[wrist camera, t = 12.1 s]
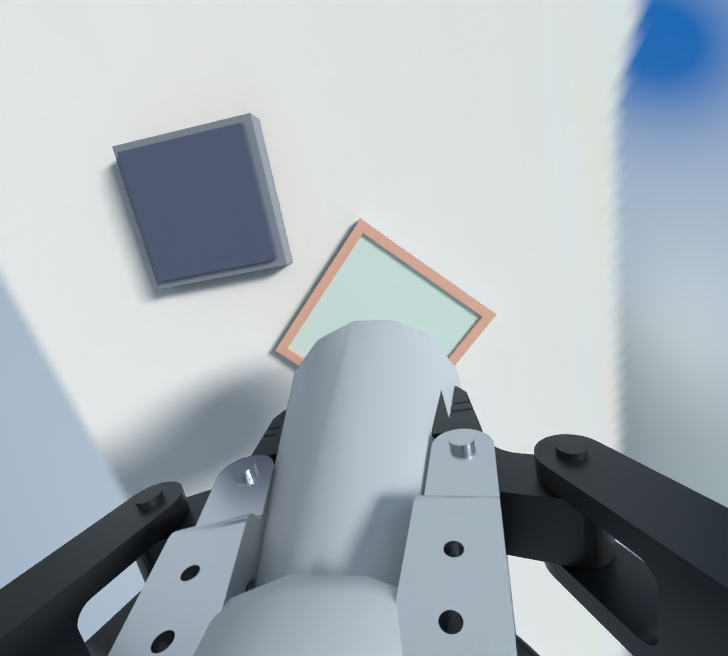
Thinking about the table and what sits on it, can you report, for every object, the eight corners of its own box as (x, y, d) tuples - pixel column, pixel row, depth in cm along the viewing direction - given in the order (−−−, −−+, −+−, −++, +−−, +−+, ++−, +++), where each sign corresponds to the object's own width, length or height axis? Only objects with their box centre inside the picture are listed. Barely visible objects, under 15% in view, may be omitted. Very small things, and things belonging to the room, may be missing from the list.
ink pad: (128, 150, 20) (106, 145, 18) (258, 119, 19) (247, 110, 17) (171, 285, 22) (154, 290, 20) (292, 262, 21) (284, 265, 19)
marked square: (277, 347, 22) (274, 350, 22) (361, 218, 20) (360, 218, 19) (400, 427, 23) (400, 432, 22) (494, 312, 21) (496, 314, 20)
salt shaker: (479, 341, 15) (934, 1007, 2) (415, 460, 16) (482, 1236, 4) (336, 281, 15) (-13, 652, 2) (286, 407, 16) (-82, 1047, 4)
